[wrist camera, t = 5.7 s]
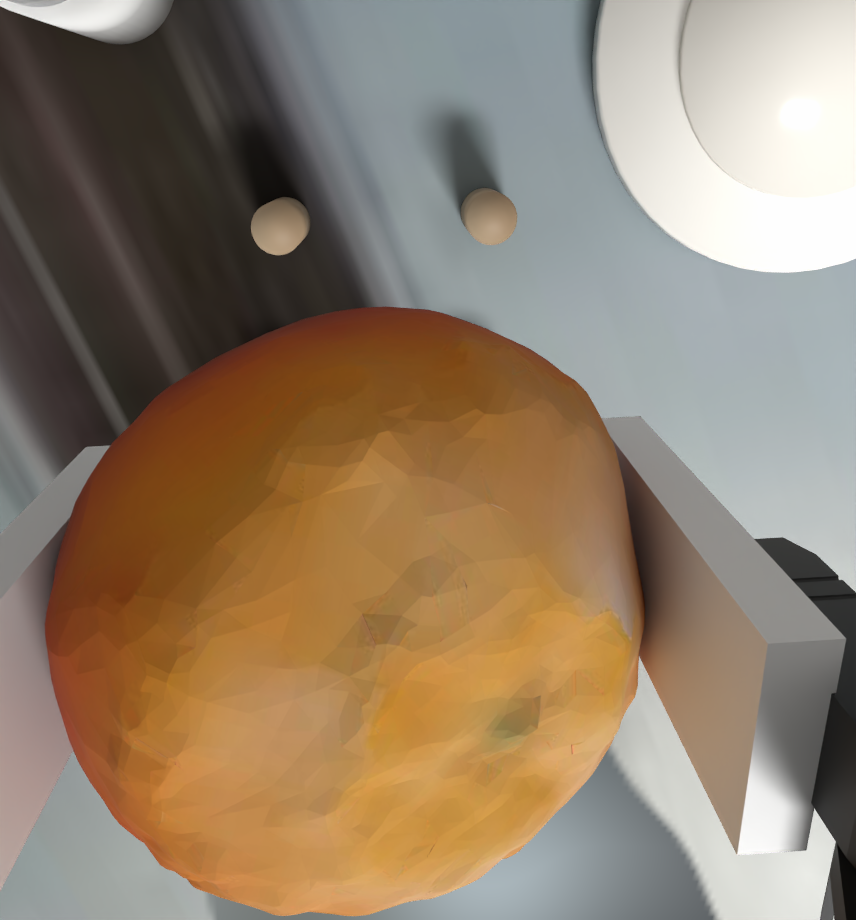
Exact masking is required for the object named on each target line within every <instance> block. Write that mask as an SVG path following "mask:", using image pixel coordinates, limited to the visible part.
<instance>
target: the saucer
mask: <svg viewBox="0 0 856 920" xmlns="http://www.w3.org/2000/svg"><path fill="white" fill-rule="evenodd" d="M592 71H593V94H594V101H595V108H596V114H597V121H598V124H599V128H600V131H601V135H602V139H603V142H604V146H605V149H606V151H607V153H608V156H609V158H610V160H611V163H612V165H613V168H614V170H615V172H616V174H617V176H618V177H619V179H620V181H621V182H622V184H623V186H624V187H625V189H626V191H627V193H628V194H629V196H630V197H631V198H632V199H633V201H634V202H635V203H636V204H637V206H638V207H639V208H640V209H641V211H642V212H643V213H644V214H645V215H646V216H647V217H648V218H649V219H650V220H651V221H652V222H653V223H654V224H655V225H656V226H657V227H658V228H660V229H661V230H662V231H663V232H664V233H665V234H667V235H668V236H670V237H671V238H673V239H674V240H676V241H677V242H679V243H680V244H682V245H683V246H685V247H687V248H689V249H691V250H693V251H695V252H697V253H699V254H701V255H703V256H706V257H708V258H711V259H713V260H716V261H719V262H722V263H726V264H729V265H732V266H735V267H739V268H743V269H749V270H756V271H762V272H800V271H808V270H817V269H821V268H825V267H829V266H833V265H837V264H842V263H845V262H847V261H850V260H853V259H855V258H856V0H601V2H600V6H599V11H598V16H597V21H596V26H595V34H594V45H593V56H592Z"/></svg>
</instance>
